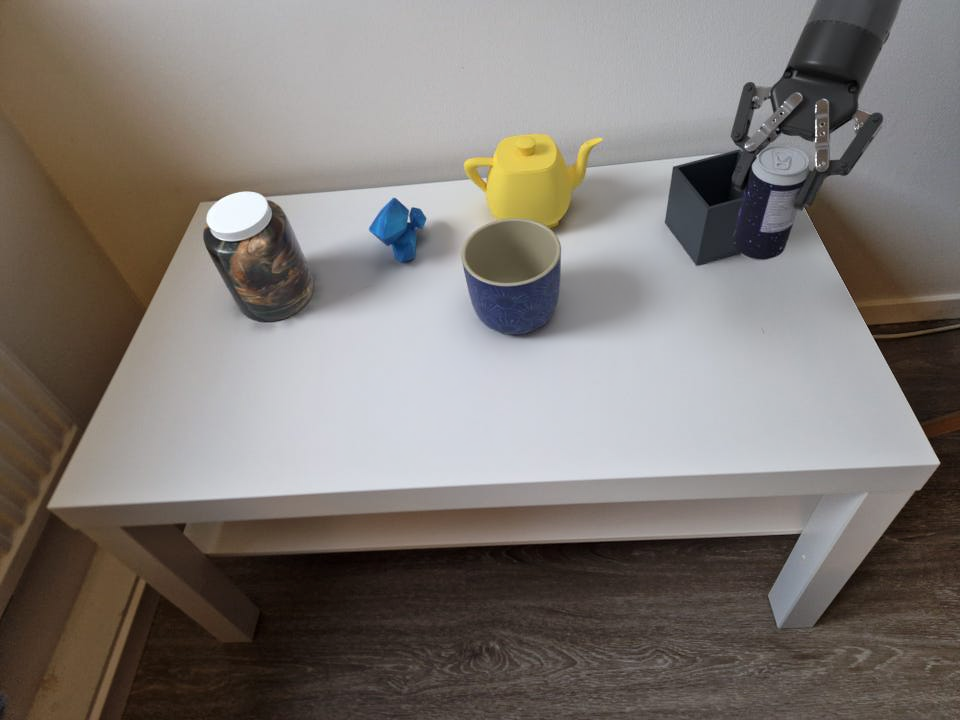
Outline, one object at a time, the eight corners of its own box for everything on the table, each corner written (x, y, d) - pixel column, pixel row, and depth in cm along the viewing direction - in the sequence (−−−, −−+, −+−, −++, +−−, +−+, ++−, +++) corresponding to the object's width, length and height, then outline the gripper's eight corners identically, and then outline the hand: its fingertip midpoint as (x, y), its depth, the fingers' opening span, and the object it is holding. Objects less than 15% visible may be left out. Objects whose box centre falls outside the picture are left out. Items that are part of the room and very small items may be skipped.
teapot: (604, 234, 98) (608, 162, 88) (470, 244, 100) (460, 175, 90) (594, 179, 106) (597, 108, 97) (471, 189, 108) (461, 121, 98)
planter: (461, 291, 94) (450, 231, 85) (544, 269, 95) (542, 207, 86) (484, 355, 86) (475, 296, 77) (574, 330, 87) (575, 269, 79)
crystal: (426, 184, 99) (414, 220, 89) (433, 236, 104) (422, 275, 95) (378, 186, 100) (360, 222, 90) (387, 238, 105) (372, 277, 96)
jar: (220, 306, 97) (173, 226, 85) (273, 256, 103) (235, 175, 91) (280, 332, 92) (238, 252, 81) (331, 278, 98) (300, 196, 86)
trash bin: (726, 205, 99) (740, 148, 92) (762, 247, 93) (779, 190, 85) (664, 222, 98) (672, 166, 91) (696, 265, 92) (707, 209, 84)
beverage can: (785, 235, 77) (815, 146, 68) (781, 269, 74) (811, 179, 64) (734, 228, 79) (756, 140, 69) (728, 260, 75) (750, 172, 66)
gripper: (767, 4, 65) (695, 171, 69) (927, 33, 59) (837, 216, 63) (775, 34, 72) (708, 185, 75) (920, 63, 65) (839, 227, 69)
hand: (767, 198), depth 69 cm, fingers closed on beverage can, 5 cm apart
